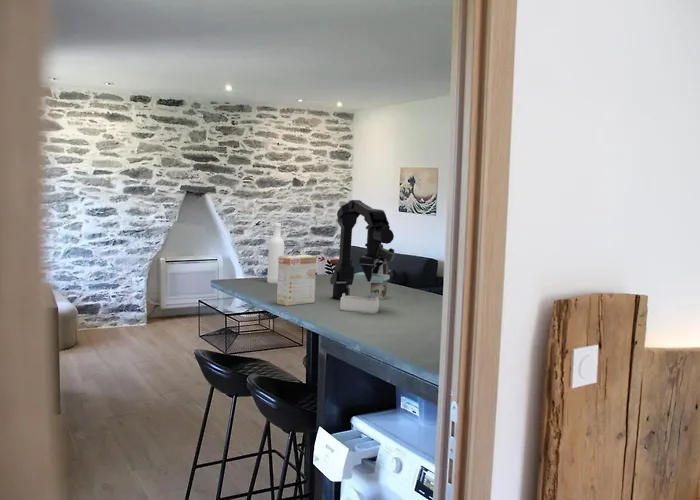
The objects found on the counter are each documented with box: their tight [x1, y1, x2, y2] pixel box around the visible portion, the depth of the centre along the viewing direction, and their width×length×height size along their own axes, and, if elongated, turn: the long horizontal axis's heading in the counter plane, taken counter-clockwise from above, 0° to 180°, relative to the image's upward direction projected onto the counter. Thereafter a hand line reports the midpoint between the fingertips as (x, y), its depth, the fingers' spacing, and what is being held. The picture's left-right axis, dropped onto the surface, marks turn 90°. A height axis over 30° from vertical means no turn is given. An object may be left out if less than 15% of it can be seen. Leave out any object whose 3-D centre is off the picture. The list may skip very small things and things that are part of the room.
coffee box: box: [369, 261, 389, 301], centre depth 276 cm, size 9×6×16 cm
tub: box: [339, 293, 380, 315], centre depth 242 cm, size 14×6×6 cm, turn 72°
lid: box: [353, 271, 391, 281], centre depth 244 cm, size 12×7×2 cm, turn 71°
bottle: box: [266, 222, 285, 285], centre depth 308 cm, size 8×8×30 cm
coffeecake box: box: [276, 254, 317, 307], centre depth 252 cm, size 15×7×20 cm, turn 135°
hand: (371, 280), depth 244 cm, fingers closed on lid, 7 cm apart
